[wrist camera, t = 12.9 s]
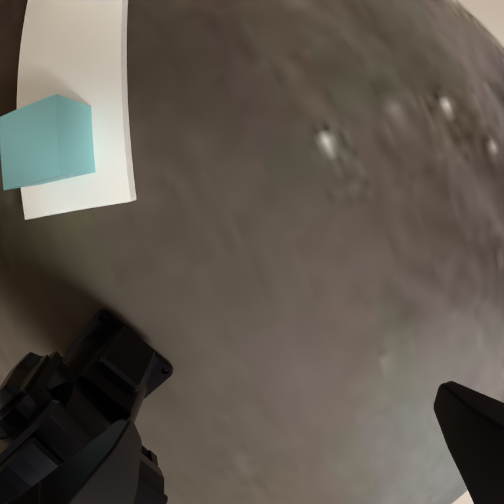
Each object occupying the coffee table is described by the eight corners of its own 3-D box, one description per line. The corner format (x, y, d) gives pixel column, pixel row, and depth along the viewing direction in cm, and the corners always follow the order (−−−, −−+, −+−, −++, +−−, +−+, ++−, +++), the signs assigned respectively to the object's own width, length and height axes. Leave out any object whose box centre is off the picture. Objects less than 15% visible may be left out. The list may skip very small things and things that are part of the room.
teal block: (95, 172, 17) (60, 175, 13) (42, 184, 17) (3, 190, 13) (91, 106, 16) (56, 94, 12) (38, 122, 16) (-1, 117, 12)
